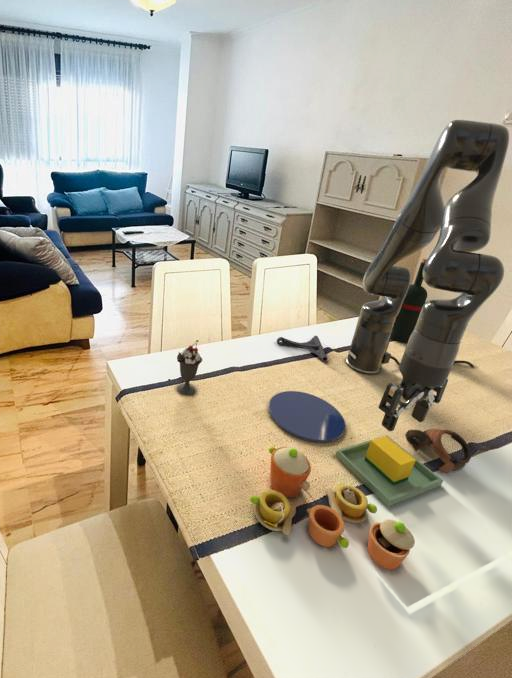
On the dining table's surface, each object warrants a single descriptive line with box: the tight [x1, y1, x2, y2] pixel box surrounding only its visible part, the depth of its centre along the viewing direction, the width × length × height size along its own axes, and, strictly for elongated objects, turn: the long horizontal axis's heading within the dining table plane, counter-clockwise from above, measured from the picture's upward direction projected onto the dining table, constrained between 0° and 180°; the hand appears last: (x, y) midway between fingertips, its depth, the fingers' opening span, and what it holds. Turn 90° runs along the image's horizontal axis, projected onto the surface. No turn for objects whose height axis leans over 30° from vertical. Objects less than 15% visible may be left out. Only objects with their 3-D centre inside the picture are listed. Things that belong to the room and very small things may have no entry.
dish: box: [334, 434, 444, 508], centre depth 82 cm, size 15×13×2 cm
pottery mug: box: [404, 427, 472, 473], centre depth 86 cm, size 12×9×8 cm
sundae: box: [176, 339, 203, 397], centre depth 102 cm, size 7×7×15 cm
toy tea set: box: [250, 446, 416, 571], centre depth 70 cm, size 26×16×10 cm, turn 67°
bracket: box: [276, 335, 329, 362], centre depth 129 cm, size 14×15×3 cm
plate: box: [268, 390, 346, 444], centre depth 96 cm, size 18×18×1 cm
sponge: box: [364, 435, 416, 485], centre depth 81 cm, size 4×7×6 cm, turn 21°
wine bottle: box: [389, 258, 428, 344], centre depth 135 cm, size 8×10×30 cm
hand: (402, 423), depth 78 cm, fingers open, 8 cm apart
